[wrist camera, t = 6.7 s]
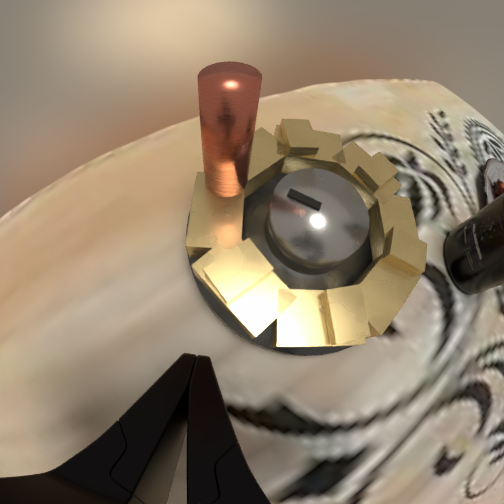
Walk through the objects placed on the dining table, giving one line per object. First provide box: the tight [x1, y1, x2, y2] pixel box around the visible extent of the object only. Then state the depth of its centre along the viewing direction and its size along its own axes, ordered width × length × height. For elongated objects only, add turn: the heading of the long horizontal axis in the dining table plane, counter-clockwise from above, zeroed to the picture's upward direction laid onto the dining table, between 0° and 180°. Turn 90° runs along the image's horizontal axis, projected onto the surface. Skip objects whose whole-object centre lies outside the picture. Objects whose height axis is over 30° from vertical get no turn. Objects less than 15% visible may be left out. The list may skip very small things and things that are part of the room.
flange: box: [187, 168, 372, 356], centre depth 17 cm, size 16×16×5 cm
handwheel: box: [186, 62, 427, 348], centre depth 13 cm, size 15×15×10 cm
